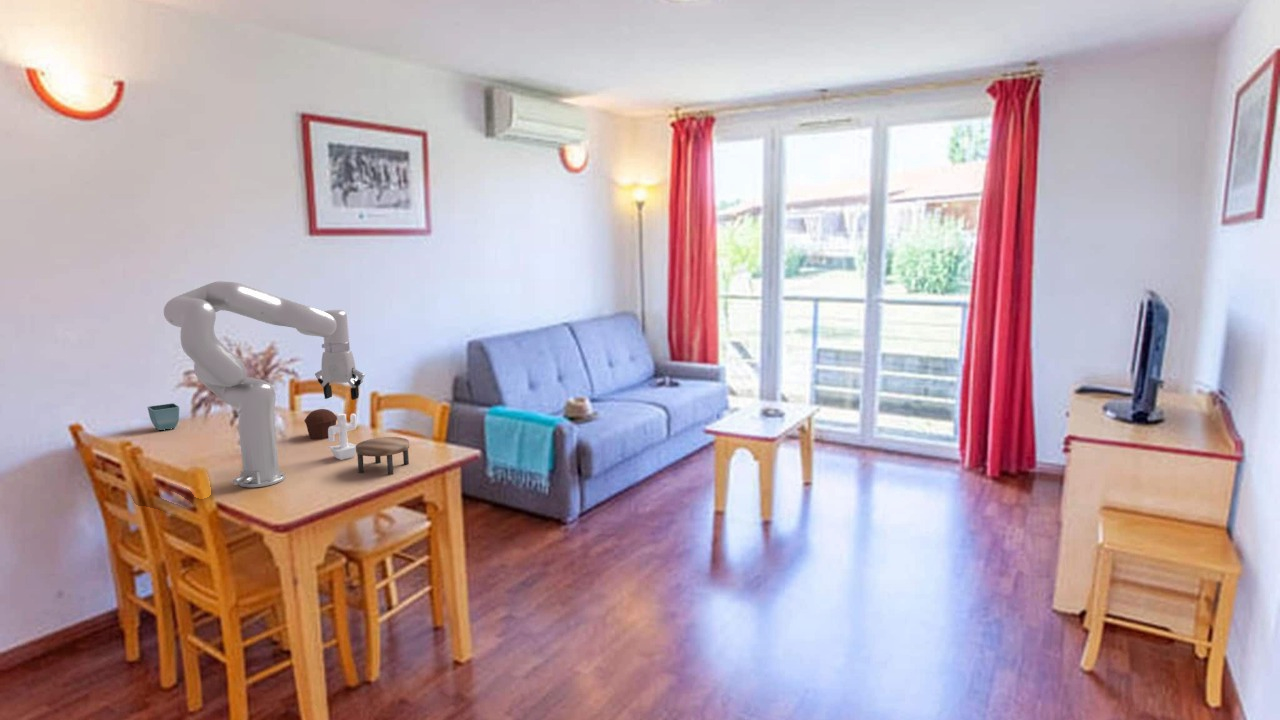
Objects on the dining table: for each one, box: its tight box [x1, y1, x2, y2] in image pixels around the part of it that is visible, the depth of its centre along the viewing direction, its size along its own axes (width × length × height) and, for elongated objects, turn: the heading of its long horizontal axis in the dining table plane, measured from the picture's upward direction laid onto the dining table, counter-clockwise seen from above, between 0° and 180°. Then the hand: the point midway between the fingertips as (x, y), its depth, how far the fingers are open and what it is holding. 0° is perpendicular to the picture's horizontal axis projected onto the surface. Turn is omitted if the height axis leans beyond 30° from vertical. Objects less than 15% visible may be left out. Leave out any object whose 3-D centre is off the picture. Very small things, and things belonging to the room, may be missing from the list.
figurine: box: [327, 413, 357, 461], centre depth 235 cm, size 7×9×15 cm
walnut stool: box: [355, 436, 410, 476], centre depth 225 cm, size 16×16×8 cm
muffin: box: [303, 408, 338, 441], centre depth 261 cm, size 12×11×10 cm
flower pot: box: [147, 402, 180, 431], centre depth 270 cm, size 9×9×9 cm
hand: (341, 398), depth 233 cm, fingers open, 9 cm apart
